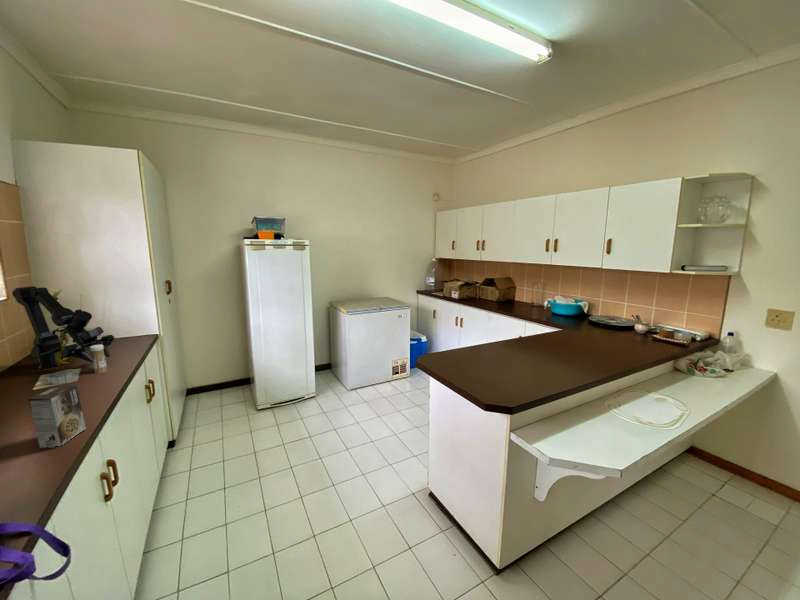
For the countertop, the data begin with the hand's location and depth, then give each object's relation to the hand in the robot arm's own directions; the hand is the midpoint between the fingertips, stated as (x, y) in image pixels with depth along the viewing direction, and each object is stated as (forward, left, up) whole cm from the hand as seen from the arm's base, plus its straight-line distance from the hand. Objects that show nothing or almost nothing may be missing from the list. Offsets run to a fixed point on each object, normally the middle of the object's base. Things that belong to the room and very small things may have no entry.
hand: (101, 359), depth 150 cm
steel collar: (+1, -13, -6) cm, 14 cm away
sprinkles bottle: (-1, -1, -7) cm, 7 cm away
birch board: (-3, -15, -7) cm, 17 cm away
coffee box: (+58, -8, -7) cm, 59 cm away
